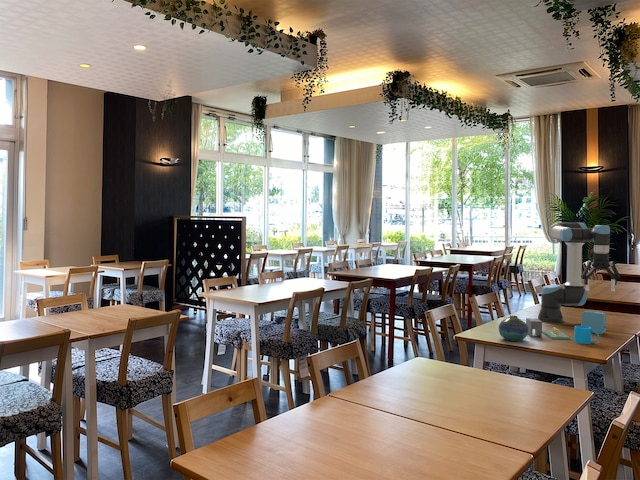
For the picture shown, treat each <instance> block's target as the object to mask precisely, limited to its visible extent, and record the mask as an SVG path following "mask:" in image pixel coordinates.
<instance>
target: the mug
mask: <svg viewBox="0 0 640 480" xmlns="http://www.w3.org/2000/svg"><path fill="white" fill-rule="evenodd" d="M591 331H593V332H595V333H594V334H595V335H596V339H594V340H592V333H591ZM573 334H574V335H573V342H575V343H577V344H582V345H590V344H592V343H596V342H598V341H599V339H600V334H598V333H597V332H596V331H594V330H592V329H591V327H588V326H581V325H574V333H573Z"/></svg>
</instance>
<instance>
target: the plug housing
mask: <svg viewBox="0 0 640 480" xmlns="http://www.w3.org/2000/svg"><path fill="white" fill-rule="evenodd" d="M525 323H526V324H527V326H528V335H527V336H529V337H530V338H533V334H535V335H536V336H537V337H539V338H543V333H542V331H543V321H540V320H539V319H538V317H537V318H536V317H535V318H533V317H526V318H525ZM533 330H534V333H533Z"/></svg>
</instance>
